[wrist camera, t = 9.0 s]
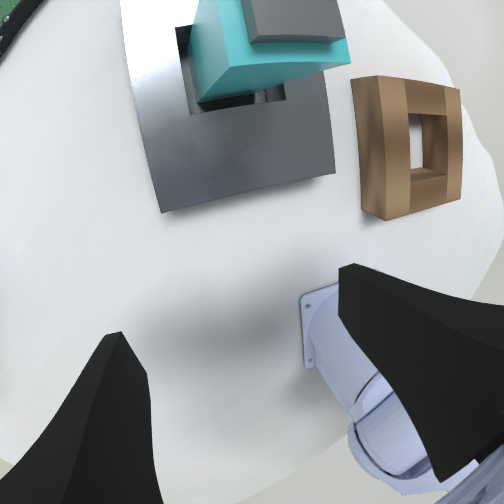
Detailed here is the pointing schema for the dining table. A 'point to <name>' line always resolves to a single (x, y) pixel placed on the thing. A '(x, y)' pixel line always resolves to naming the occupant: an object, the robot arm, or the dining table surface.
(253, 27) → the plug
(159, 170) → the port block
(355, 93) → the tan square ring
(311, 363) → the robot arm
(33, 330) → the dining table surface
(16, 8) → the disk drive
